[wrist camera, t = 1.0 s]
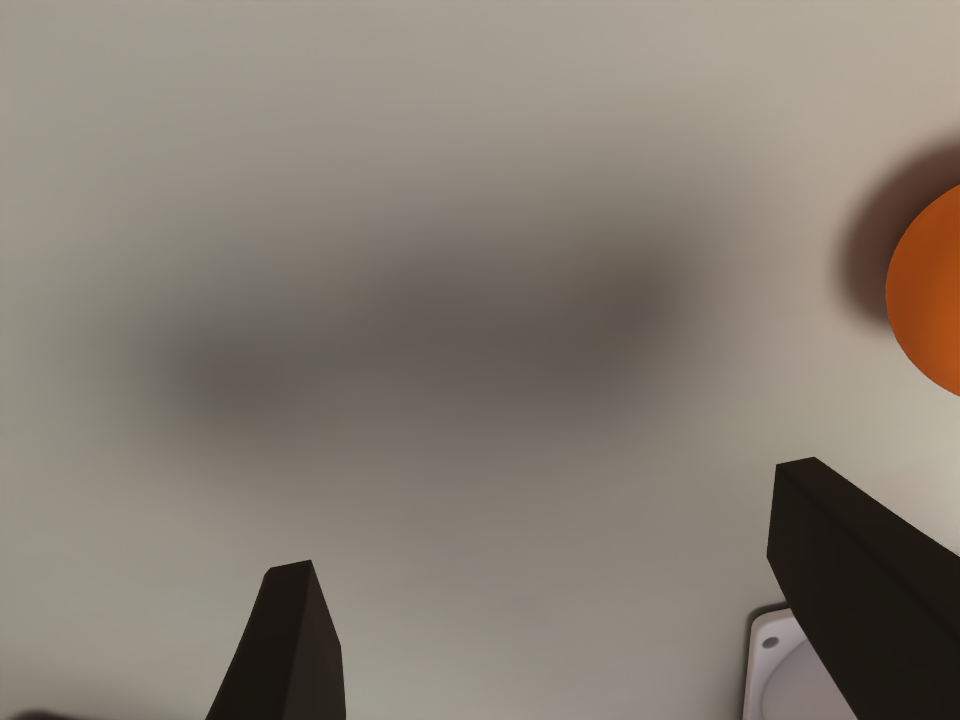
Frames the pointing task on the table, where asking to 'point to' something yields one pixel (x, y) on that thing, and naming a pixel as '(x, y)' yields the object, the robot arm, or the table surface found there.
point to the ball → (929, 291)
